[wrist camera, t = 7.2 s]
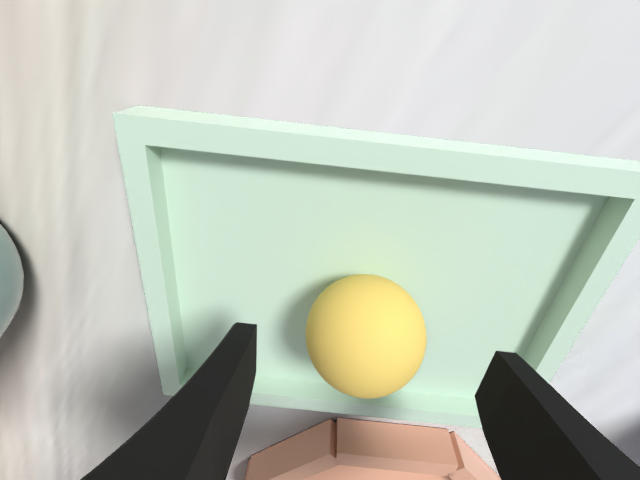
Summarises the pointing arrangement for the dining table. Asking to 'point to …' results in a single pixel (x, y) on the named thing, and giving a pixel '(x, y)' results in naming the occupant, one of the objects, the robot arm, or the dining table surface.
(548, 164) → the tray
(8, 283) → the cup
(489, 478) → the dish
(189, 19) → the dining table surface
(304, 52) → the dining table surface
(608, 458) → the robot arm
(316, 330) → the ball
